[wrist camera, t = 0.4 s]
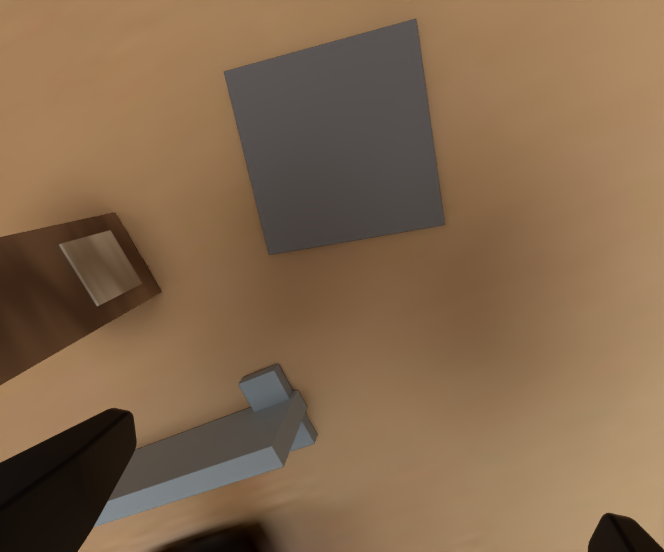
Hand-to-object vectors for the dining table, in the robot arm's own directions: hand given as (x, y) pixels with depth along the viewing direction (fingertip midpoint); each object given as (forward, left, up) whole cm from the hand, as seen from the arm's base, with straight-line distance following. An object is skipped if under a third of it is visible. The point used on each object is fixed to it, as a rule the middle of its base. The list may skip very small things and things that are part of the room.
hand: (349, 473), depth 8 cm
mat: (+5, +4, -15) cm, 16 cm away
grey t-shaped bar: (-15, +10, -15) cm, 23 cm away
